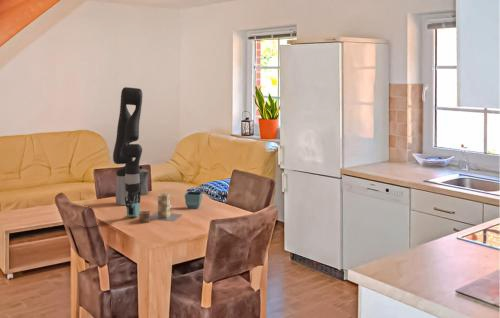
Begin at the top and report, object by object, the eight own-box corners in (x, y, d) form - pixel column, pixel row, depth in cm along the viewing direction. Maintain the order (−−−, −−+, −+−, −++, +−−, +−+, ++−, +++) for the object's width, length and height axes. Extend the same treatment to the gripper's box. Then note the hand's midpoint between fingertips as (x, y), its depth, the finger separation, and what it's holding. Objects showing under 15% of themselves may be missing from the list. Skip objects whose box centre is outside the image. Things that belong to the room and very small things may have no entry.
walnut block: (139, 225, 280) (139, 213, 279) (140, 222, 285) (140, 211, 284) (149, 224, 280) (149, 213, 279) (150, 222, 285) (149, 211, 284)
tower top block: (158, 206, 288) (157, 195, 287) (160, 204, 293) (160, 193, 292) (167, 207, 288) (167, 195, 287) (169, 204, 292) (169, 193, 292)
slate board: (144, 221, 287) (144, 219, 286) (155, 214, 300) (155, 212, 300) (173, 223, 283) (173, 221, 282) (183, 216, 296) (183, 214, 296)
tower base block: (157, 217, 289) (157, 206, 288) (161, 215, 294) (161, 204, 293) (166, 218, 288) (166, 207, 287) (170, 215, 293) (170, 204, 292)
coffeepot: (154, 193, 352) (153, 166, 350) (143, 196, 345) (142, 168, 342) (137, 190, 361) (136, 163, 358) (126, 193, 354) (125, 165, 351)
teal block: (126, 215, 289) (126, 204, 288) (131, 213, 293) (130, 202, 292) (135, 216, 287) (135, 205, 286) (139, 214, 292) (139, 203, 291)
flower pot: (202, 206, 318) (202, 191, 317) (199, 210, 310) (199, 195, 308) (187, 206, 319) (187, 191, 318) (184, 210, 311) (184, 194, 309)
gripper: (132, 178, 295) (133, 209, 298) (119, 184, 281) (120, 216, 284) (145, 179, 293) (145, 210, 296) (132, 185, 279) (133, 217, 282)
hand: (133, 213), depth 290 cm, fingers closed on teal block, 5 cm apart
